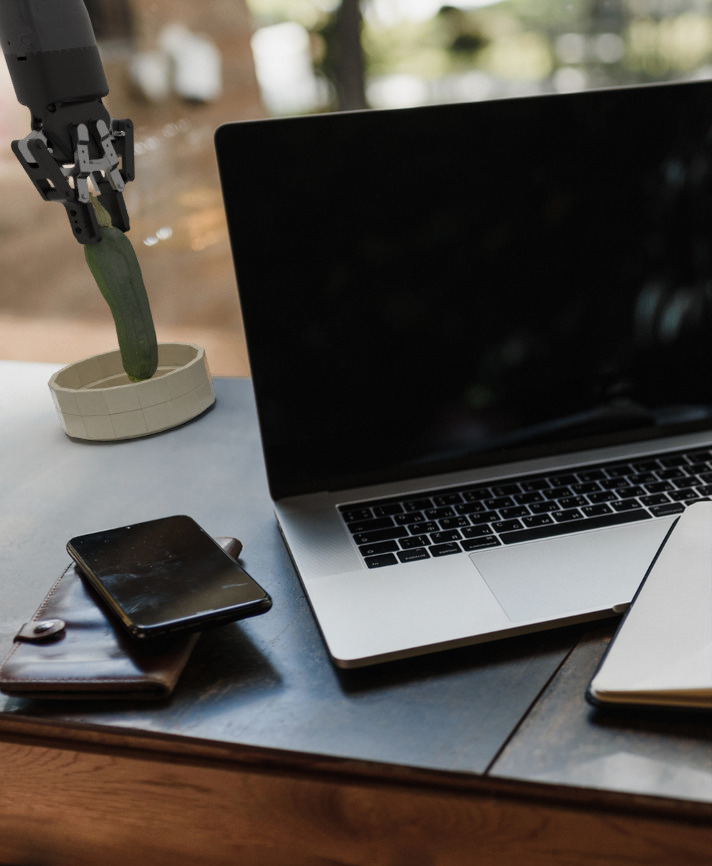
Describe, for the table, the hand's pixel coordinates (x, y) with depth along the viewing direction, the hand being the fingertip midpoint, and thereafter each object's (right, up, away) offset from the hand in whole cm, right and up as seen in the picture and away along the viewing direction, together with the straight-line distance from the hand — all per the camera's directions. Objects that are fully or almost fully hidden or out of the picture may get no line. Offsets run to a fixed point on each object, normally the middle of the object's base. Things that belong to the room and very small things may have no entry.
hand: (104, 237), depth 102 cm
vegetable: (+1, -14, +6) cm, 15 cm away
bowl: (0, -17, +7) cm, 18 cm away
